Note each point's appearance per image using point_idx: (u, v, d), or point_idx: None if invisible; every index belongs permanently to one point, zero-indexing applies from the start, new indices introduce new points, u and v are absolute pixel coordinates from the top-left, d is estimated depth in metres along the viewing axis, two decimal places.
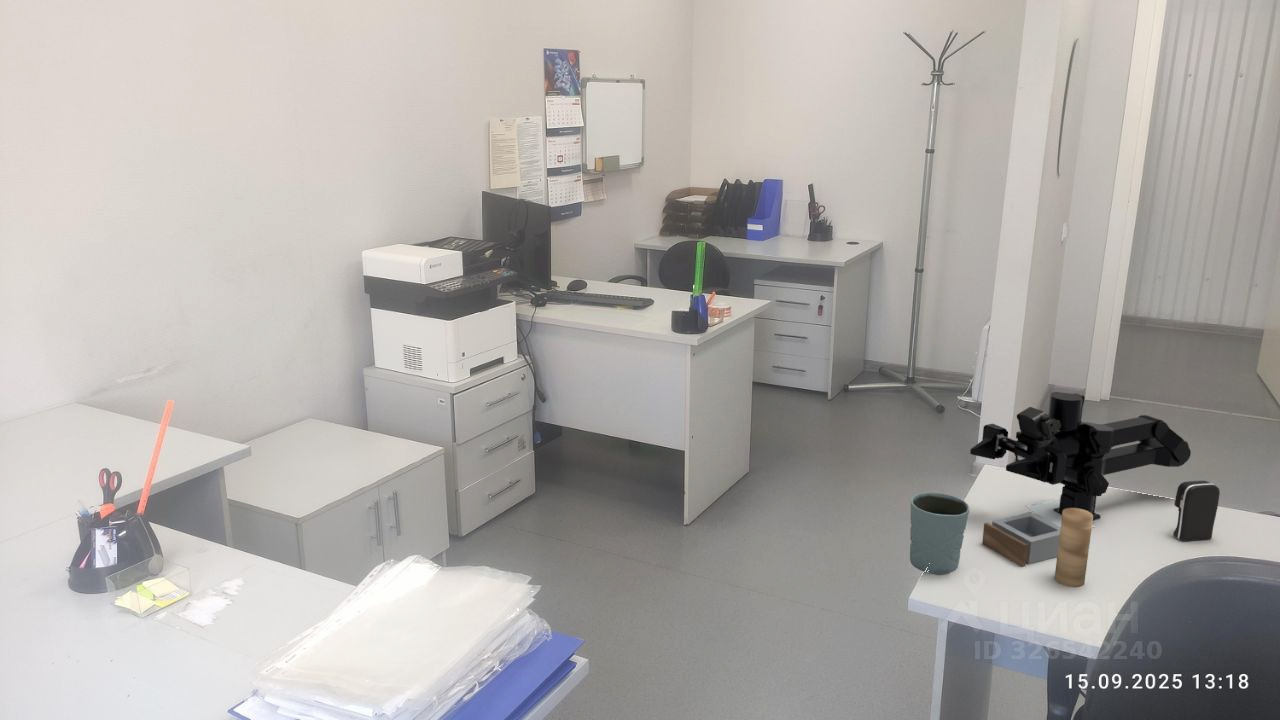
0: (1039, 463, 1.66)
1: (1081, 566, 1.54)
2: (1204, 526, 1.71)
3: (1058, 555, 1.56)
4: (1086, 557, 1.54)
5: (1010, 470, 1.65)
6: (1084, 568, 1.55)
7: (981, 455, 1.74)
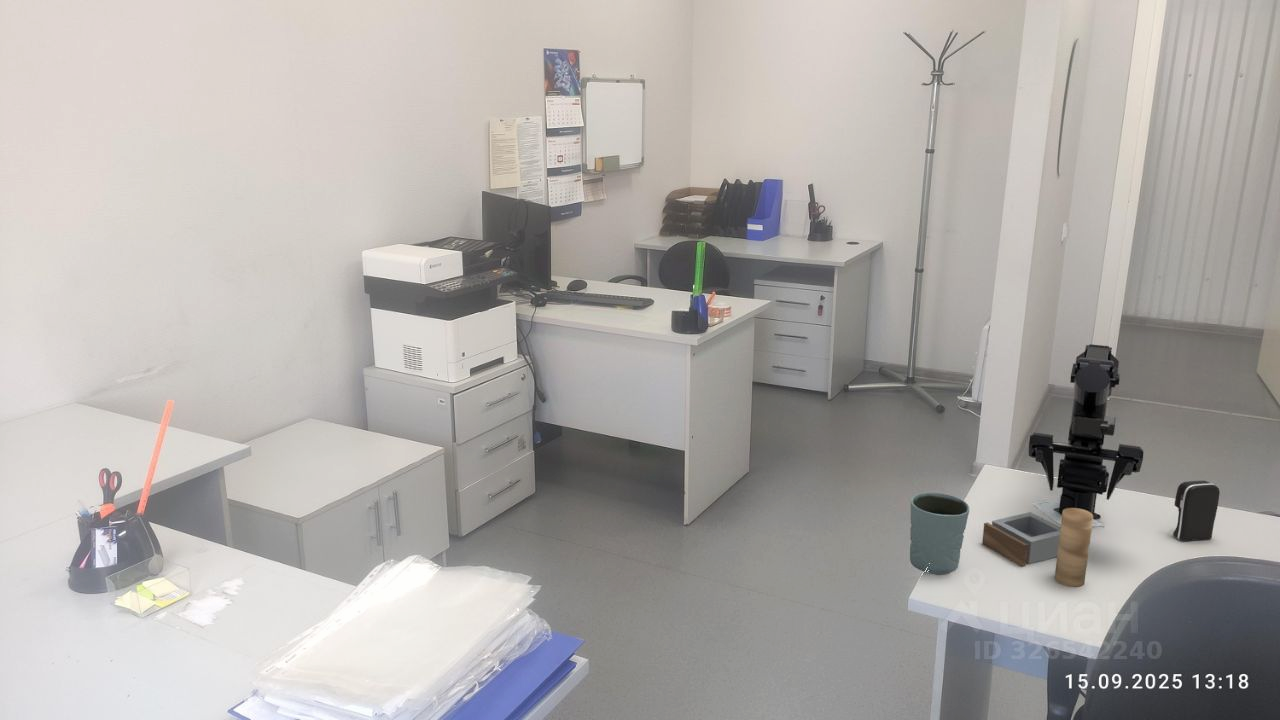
0: None
1: (1081, 566, 1.54)
2: (1204, 526, 1.71)
3: (1058, 555, 1.56)
4: (1086, 557, 1.54)
5: (1110, 496, 1.59)
6: (1084, 568, 1.55)
7: None
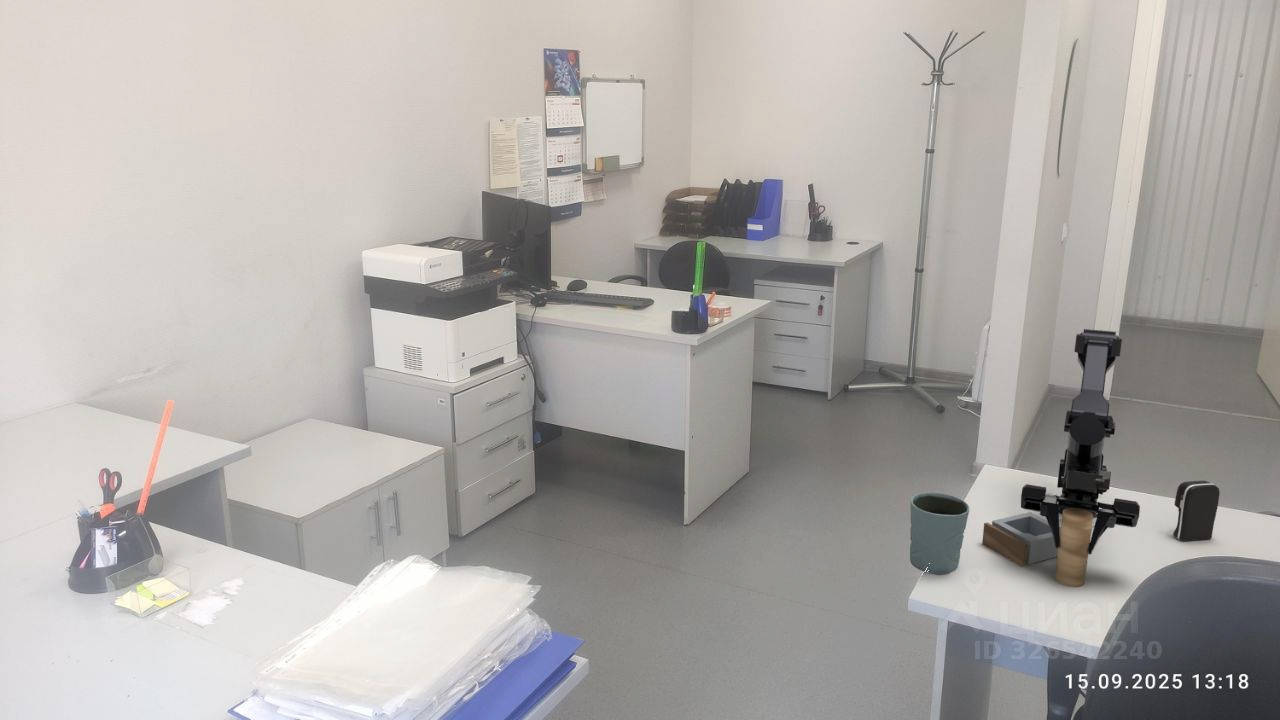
0: None
1: (1081, 566, 1.54)
2: (1204, 526, 1.71)
3: (1058, 555, 1.56)
4: (1086, 557, 1.54)
5: None
6: (1084, 568, 1.55)
7: None
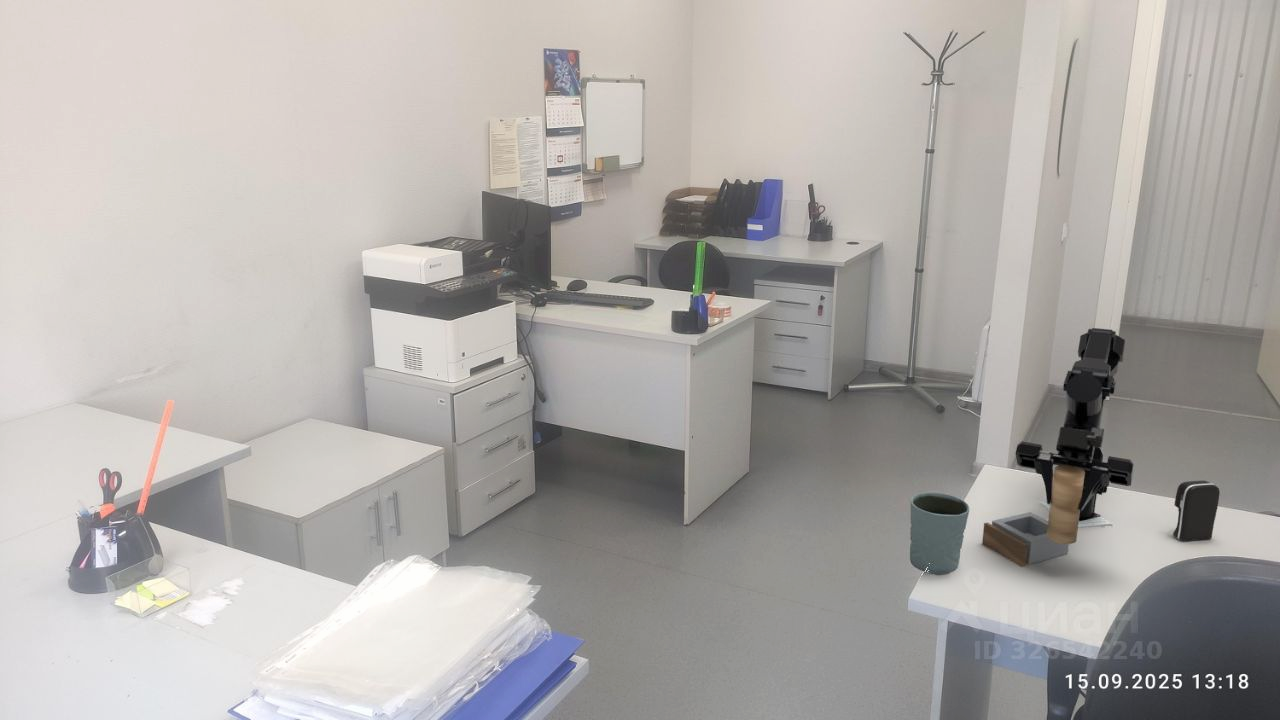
0: None
1: (1072, 523, 1.55)
2: (1204, 526, 1.71)
3: (1050, 511, 1.58)
4: (1077, 514, 1.55)
5: (1083, 508, 1.55)
6: (1075, 525, 1.56)
7: None
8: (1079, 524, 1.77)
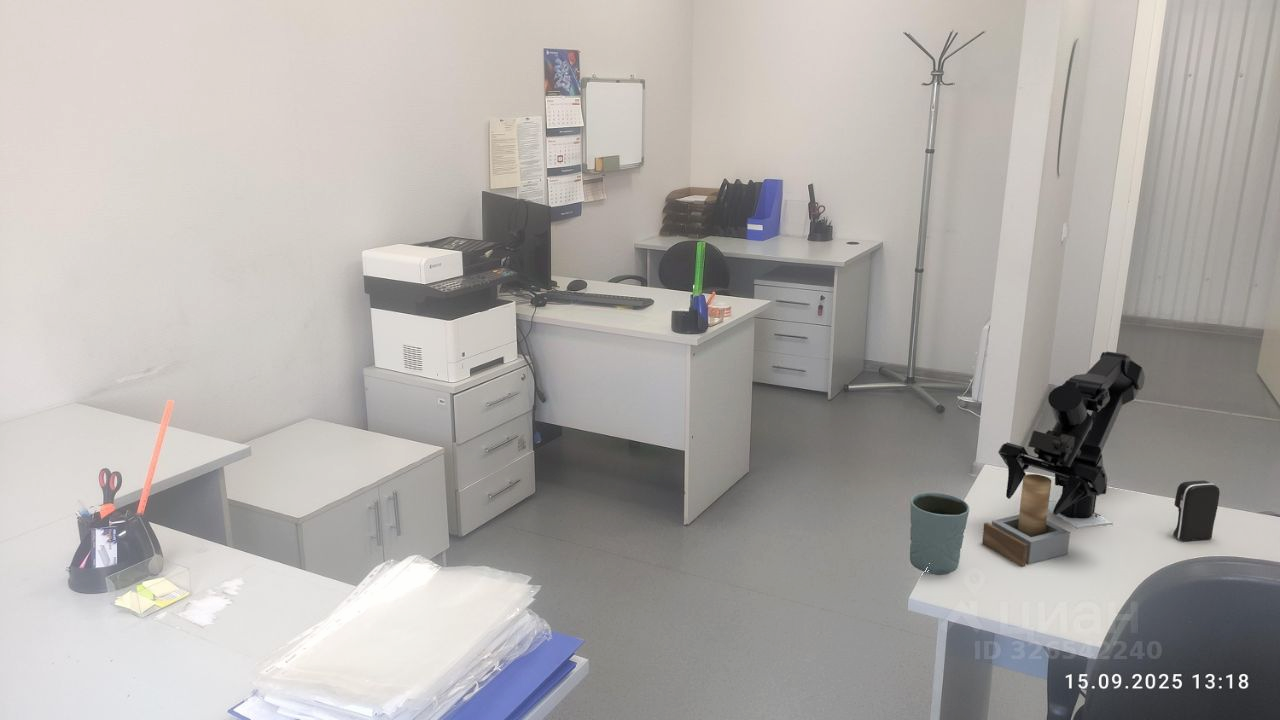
0: (1077, 485, 1.62)
1: (1035, 528, 1.66)
2: (1204, 526, 1.71)
3: None
4: (1041, 521, 1.65)
5: (1058, 512, 1.63)
6: (1039, 531, 1.66)
7: (1016, 488, 1.71)
8: (1080, 524, 1.78)
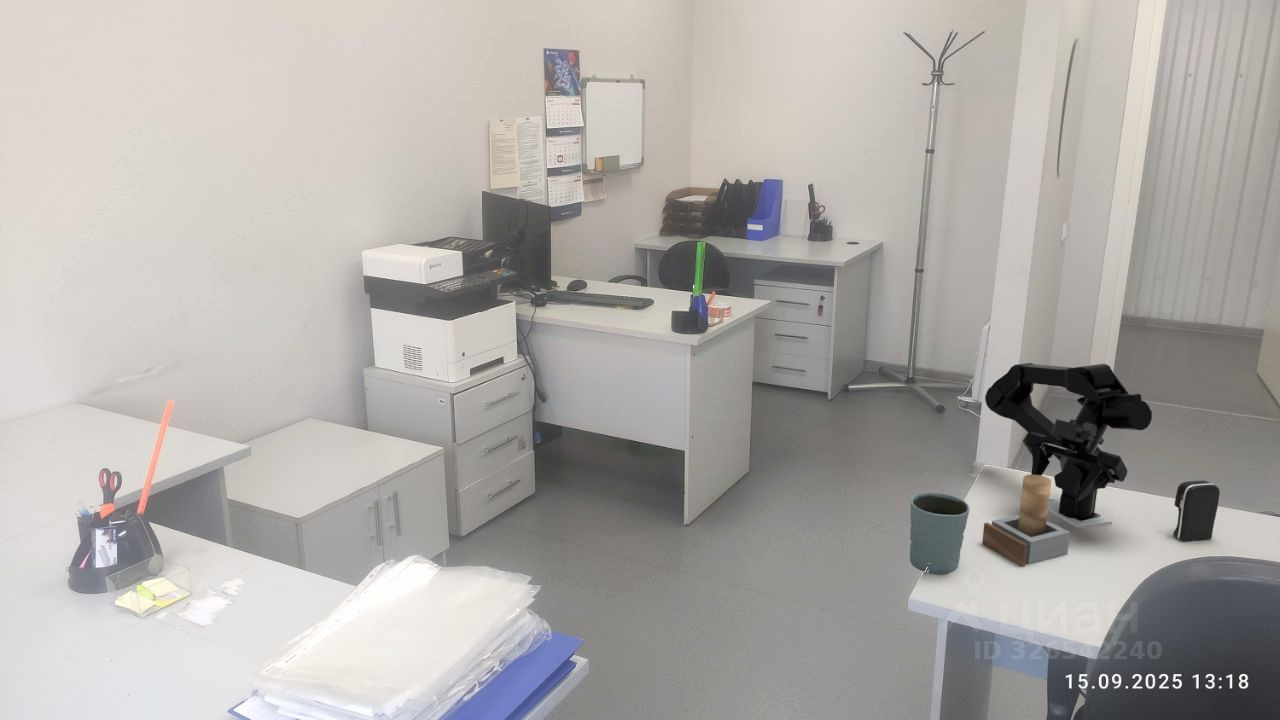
0: (1099, 472, 1.68)
1: (1035, 529, 1.66)
2: (1204, 526, 1.71)
3: (1019, 516, 1.69)
4: (1041, 521, 1.65)
5: (1081, 498, 1.68)
6: (1039, 531, 1.66)
7: None
8: (1080, 523, 1.78)
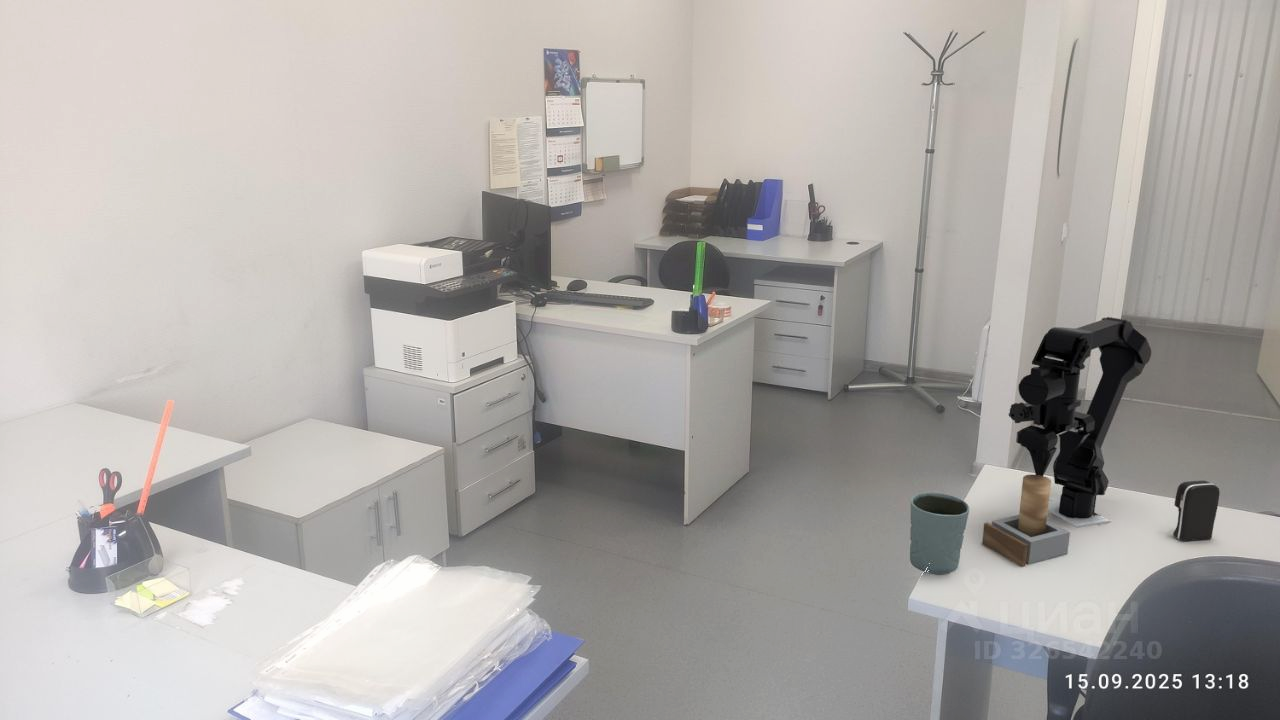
0: None
1: (1035, 529, 1.66)
2: (1204, 526, 1.71)
3: None
4: (1041, 521, 1.65)
5: None
6: (1039, 531, 1.66)
7: (1071, 454, 1.73)
8: (1079, 522, 1.78)
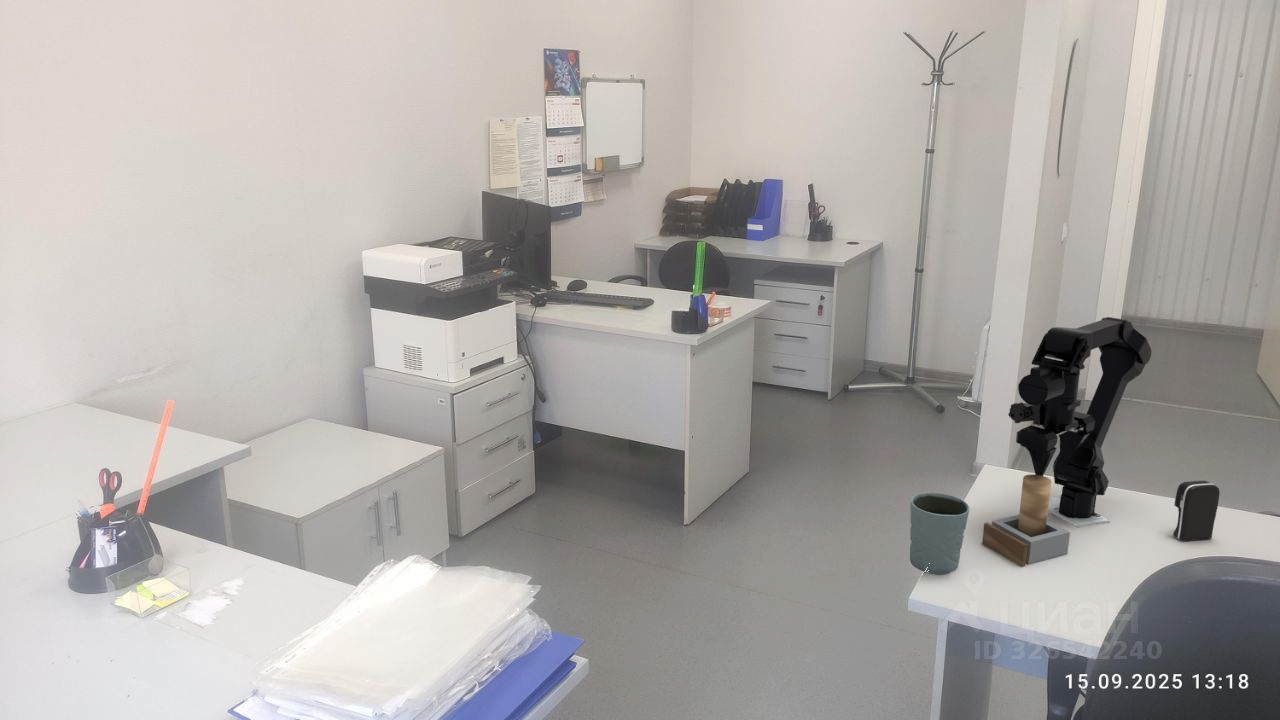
0: None
1: (1035, 529, 1.66)
2: (1204, 526, 1.71)
3: None
4: (1041, 521, 1.65)
5: None
6: (1039, 531, 1.66)
7: (1071, 454, 1.73)
8: (1079, 522, 1.78)
